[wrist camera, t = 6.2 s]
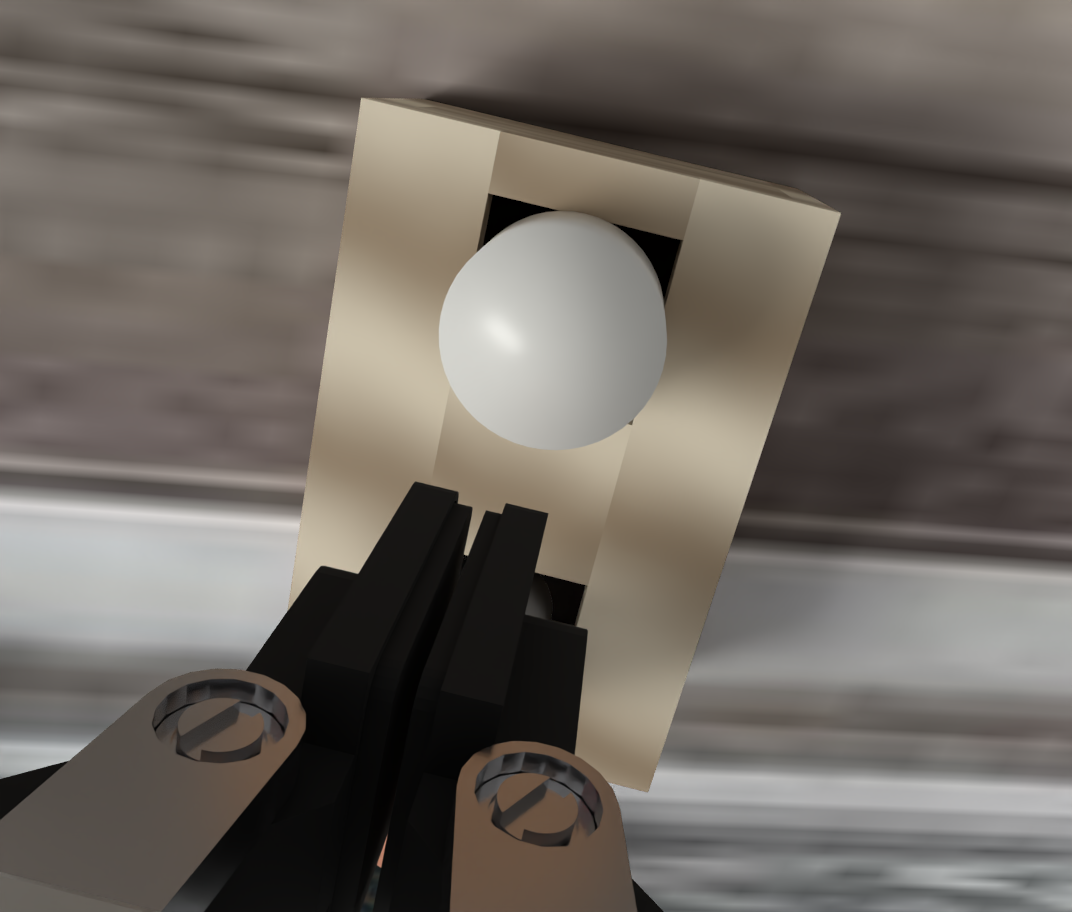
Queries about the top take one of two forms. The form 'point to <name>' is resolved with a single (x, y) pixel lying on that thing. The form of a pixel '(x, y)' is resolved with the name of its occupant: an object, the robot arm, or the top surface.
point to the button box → (573, 474)
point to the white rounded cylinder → (555, 331)
